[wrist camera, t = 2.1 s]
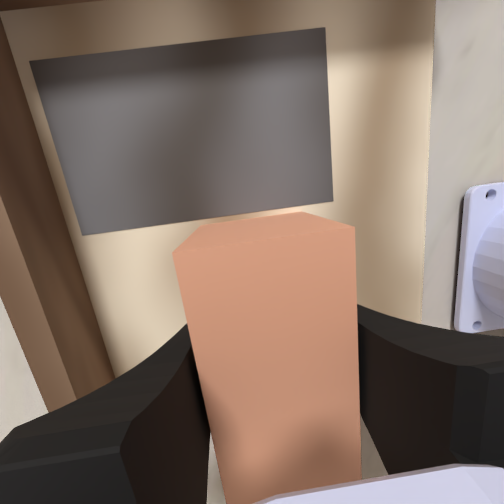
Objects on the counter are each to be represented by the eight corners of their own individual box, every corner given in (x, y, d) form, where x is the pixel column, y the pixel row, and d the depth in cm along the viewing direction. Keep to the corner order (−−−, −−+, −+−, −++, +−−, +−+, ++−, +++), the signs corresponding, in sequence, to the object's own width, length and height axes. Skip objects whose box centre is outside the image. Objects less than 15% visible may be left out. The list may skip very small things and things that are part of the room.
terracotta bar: (200, 225, 11) (171, 252, 6) (301, 211, 11) (355, 226, 6) (231, 393, 13) (228, 514, 8) (315, 380, 13) (361, 491, 8)
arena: (418, -52, 10) (517, -183, 6) (406, 359, 14) (459, 411, 11) (-22, -5, 9) (-173, -120, 6) (114, 405, 14) (74, 475, 10)
